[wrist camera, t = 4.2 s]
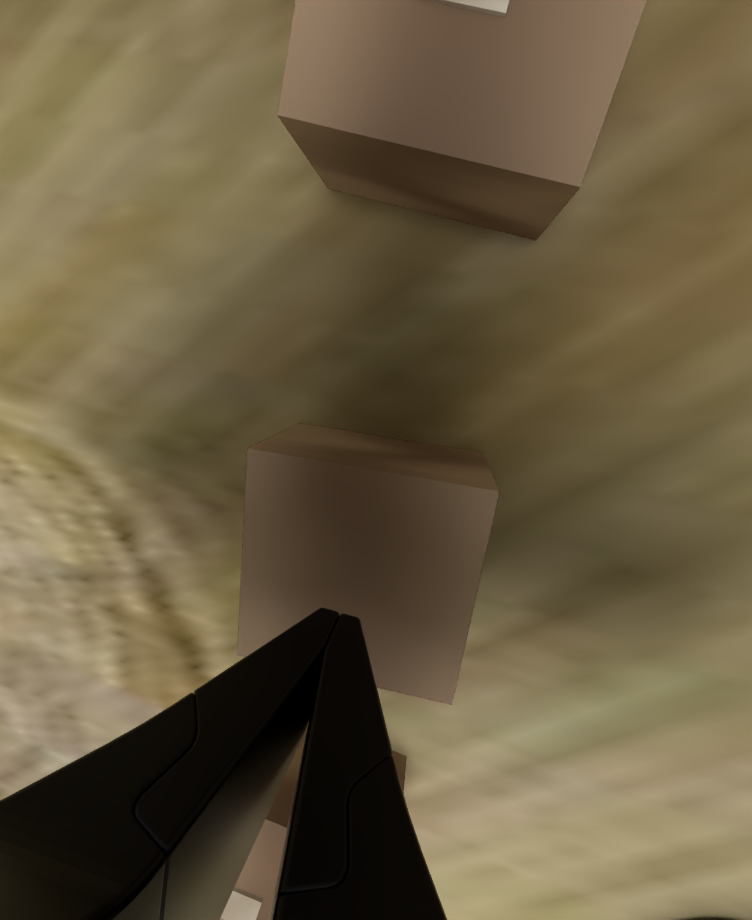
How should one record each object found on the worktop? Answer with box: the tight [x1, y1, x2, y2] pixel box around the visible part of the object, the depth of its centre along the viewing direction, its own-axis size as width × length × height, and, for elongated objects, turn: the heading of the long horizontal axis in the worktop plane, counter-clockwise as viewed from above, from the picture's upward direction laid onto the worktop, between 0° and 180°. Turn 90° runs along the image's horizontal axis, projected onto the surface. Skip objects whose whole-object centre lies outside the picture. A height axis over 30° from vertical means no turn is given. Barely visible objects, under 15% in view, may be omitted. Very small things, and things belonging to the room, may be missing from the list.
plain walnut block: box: [237, 423, 499, 705], centre depth 12 cm, size 6×6×4 cm
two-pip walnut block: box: [220, 725, 406, 920], centre depth 16 cm, size 6×6×4 cm
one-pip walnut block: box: [277, 0, 647, 240], centre depth 9 cm, size 6×6×4 cm
